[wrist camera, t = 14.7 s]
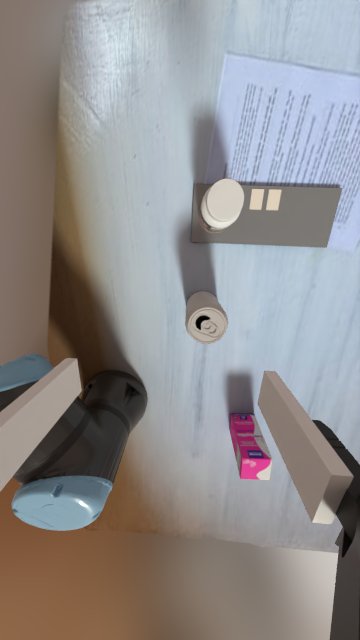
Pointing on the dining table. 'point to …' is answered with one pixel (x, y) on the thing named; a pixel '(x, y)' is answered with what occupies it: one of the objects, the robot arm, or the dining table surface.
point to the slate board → (274, 216)
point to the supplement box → (250, 447)
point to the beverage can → (205, 318)
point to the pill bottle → (221, 205)
